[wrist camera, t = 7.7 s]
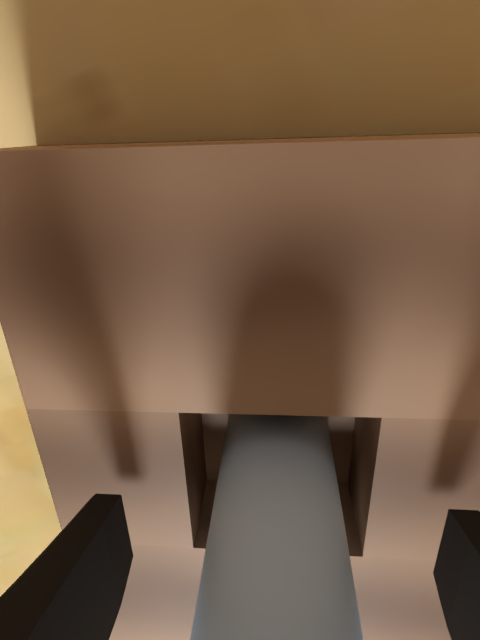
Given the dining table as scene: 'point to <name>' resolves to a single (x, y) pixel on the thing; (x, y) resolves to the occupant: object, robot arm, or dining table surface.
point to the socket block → (251, 341)
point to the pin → (277, 538)
